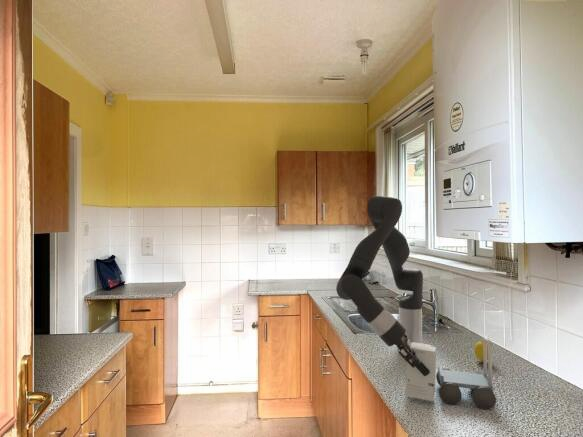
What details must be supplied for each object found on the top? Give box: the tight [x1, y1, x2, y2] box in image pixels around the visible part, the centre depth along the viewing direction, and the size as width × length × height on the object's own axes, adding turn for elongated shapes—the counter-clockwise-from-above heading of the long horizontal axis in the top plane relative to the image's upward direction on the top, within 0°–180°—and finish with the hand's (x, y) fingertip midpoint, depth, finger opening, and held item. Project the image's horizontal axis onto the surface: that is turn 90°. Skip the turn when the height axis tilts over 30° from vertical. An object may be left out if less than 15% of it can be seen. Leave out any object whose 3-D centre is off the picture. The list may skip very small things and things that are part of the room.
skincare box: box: [404, 342, 437, 402], centre depth 112 cm, size 8×6×15 cm
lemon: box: [474, 340, 488, 363], centre depth 141 cm, size 6×6×8 cm
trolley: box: [435, 335, 497, 410], centre depth 114 cm, size 12×15×18 cm
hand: (426, 369), depth 112 cm, fingers closed on skincare box, 6 cm apart
